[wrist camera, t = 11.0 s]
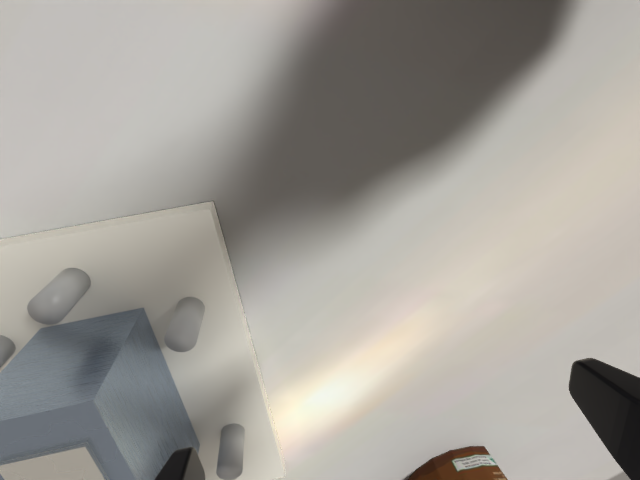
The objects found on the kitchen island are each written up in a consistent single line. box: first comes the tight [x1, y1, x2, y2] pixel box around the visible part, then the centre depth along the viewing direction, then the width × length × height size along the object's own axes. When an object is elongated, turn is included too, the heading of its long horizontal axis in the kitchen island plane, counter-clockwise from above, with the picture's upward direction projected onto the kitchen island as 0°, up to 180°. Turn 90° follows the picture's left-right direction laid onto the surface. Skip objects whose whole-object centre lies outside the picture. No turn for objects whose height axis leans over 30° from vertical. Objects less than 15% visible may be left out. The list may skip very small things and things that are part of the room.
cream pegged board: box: [0, 201, 285, 480], centre depth 20 cm, size 14×19×4 cm
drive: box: [0, 308, 200, 480], centre depth 18 cm, size 5×10×6 cm, turn 9°
